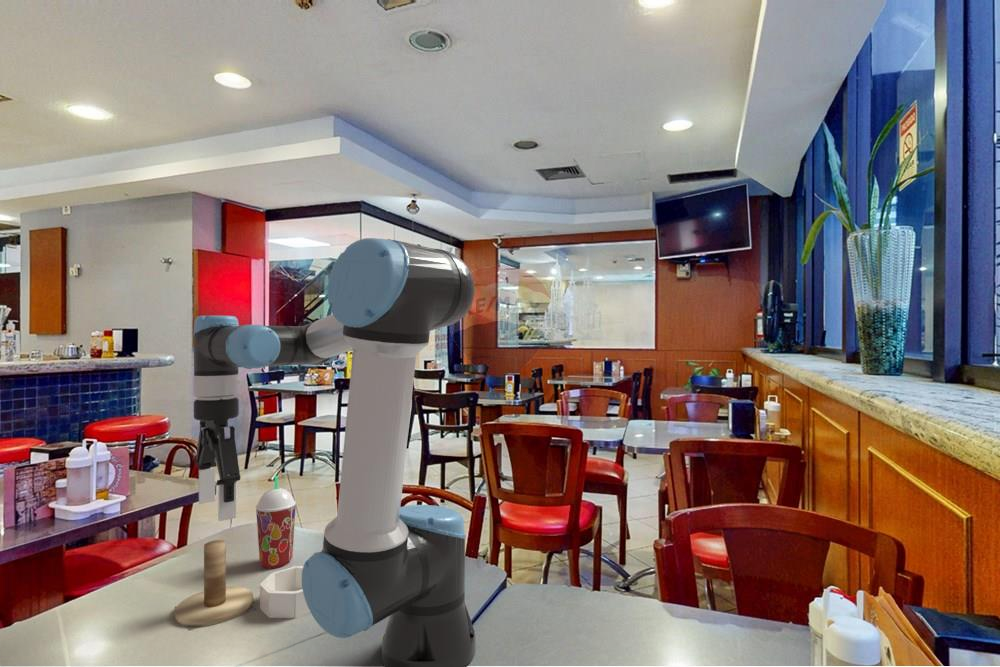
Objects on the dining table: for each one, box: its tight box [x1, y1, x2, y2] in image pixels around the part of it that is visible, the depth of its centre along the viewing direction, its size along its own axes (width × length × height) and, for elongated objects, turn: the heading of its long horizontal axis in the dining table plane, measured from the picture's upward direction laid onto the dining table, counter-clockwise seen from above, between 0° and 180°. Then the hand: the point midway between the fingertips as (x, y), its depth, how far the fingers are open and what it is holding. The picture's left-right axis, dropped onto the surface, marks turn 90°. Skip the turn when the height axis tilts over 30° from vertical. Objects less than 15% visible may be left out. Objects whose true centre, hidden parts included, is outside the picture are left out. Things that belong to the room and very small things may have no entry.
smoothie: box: [255, 475, 297, 569], centre depth 122 cm, size 8×8×20 cm
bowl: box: [259, 565, 311, 619], centre depth 104 cm, size 12×12×5 cm
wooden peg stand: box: [174, 539, 254, 627], centre depth 102 cm, size 13×13×12 cm
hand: (216, 510), depth 102 cm, fingers open, 13 cm apart
